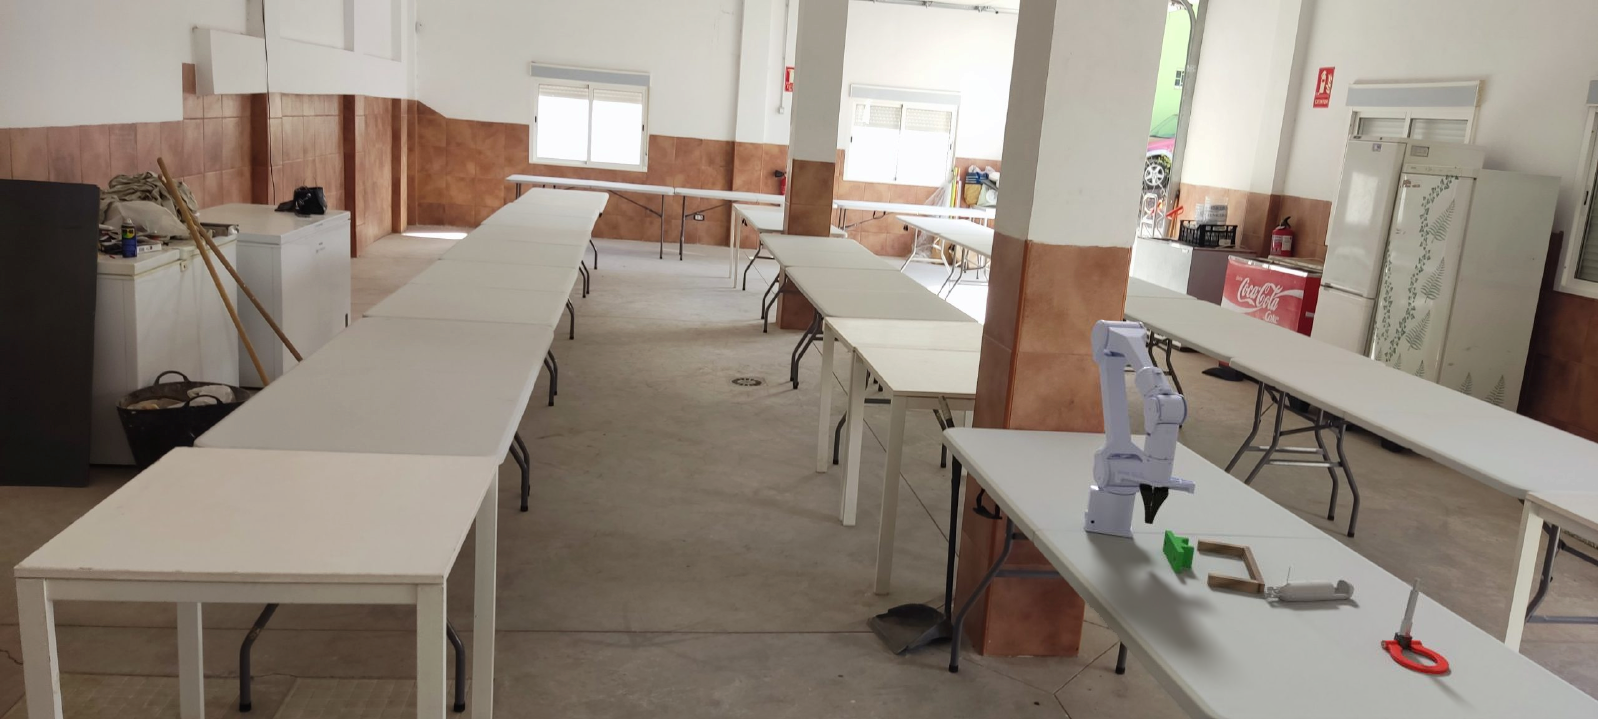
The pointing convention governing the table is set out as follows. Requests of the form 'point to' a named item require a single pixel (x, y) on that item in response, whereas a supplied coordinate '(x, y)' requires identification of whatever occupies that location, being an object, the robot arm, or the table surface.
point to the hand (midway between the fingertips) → (1148, 522)
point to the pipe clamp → (1178, 551)
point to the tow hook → (1413, 642)
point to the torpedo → (1311, 590)
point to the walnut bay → (1230, 582)
